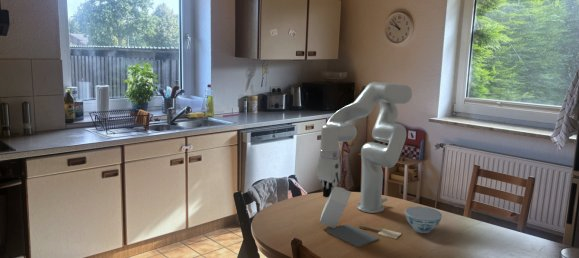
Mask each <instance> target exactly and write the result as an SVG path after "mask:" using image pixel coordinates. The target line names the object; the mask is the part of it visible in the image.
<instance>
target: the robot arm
mask: <svg viewBox="0 0 579 258" xmlns="http://www.w3.org/2000/svg"><path fill="white" fill-rule="evenodd" d="M412 97H413V90H412V88H411V87H410V86H409V85H408V84H401V83H393V82H380V81H379V82H378V81H372V82H370V83H368V84H367V85H366V86H365V88H364V89H363V90H362V91H361V93H360V94H359V95H358V96H357V97H356V99H355V100H354V101H353V102H351V103H349V104H348V105H345V106H344V107H342V108H340V109H339V110H337V111H336V112H334V113H333V114H332V115H331V116H330V118H329V119H328V120H327V122H326V123H325V124H322V127H321V137H320V149H319V151H320V152H319V158H318V162H317V169H316V170H317V171H316V175H317V178H318V181H320V182H321V185H322V188H323V189H322V190H323V191H322V197H324V198H329V195H330V193H331V191H332V189H333V188H334V186H336V187H338V185H339V184H338V182H340V181H341V161H340V160H341V159H340V158H339V157H340V154H339V152H340V151H339V149H340V142H343V143H344V142H345V143H347V142H348V143H349V142H352V141H353V140H355V138H357V137H356V136H357V134H358V133H357V128H356V127H355V125H353V124H351V123H350V124H349V123H347V122H349V121H352V120H358V119H362V118H365V117H368V116H369V115H370V114H371V112H372V111H374V108H375V107H376V106H377V105H378V104H379V112H378V115H377V117H376V120H375V124H374V126H373V129H372V131H371V132H372V133H371V137H372V138H373V139H374V140H375V141H378V142H380V143H377V142H373V141H372V142H371V141H369V142H365V143H364V144H363V145H362V147H361V149H360V157H361V163H362V171H361V173H362V174H361V185H360V186H361V188H360V189H361V190H360V202H359V203H357V205H356V208H357V209H358V210H359V211H360V212H363V213H369V214H377V213H378V214H379V213H382V212H384V210H385V206H384V205H383V203H385V202H388V198H387V197H383V196H382V193H383V179H384V172H383V168H382V167H386V168H393V167H394V166H395V165H397V163H398V161H399V158H400V156H401V153H402V152H403V151H402V150H403V149H404V145H405V142H406V138H407V129H406V127H405V126H404V125H402V124H400V123H396V122H397V120H398V116H399V115H398V114H399V111H398V108H397V106H396V104H399V105H403V104H404V105H405V104H408V103H409V102H410V101H411V99H412ZM382 143H386V144H387V145H386V144H382ZM382 197H383V198H382Z"/></svg>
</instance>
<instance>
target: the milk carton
mask: <svg viewBox="0 0 579 258" xmlns="http://www.w3.org/2000/svg"><path fill="white" fill-rule="evenodd" d="M351 194H352V191H349V190H347V189H345V188H344V187H339V186H333V187H332V188H331V193H330V195H329V197H327V200H326V201H325V205H324V207H323V209H322V212H321V215H320V219H319V223H320V224H322V225H324V226H327V227H329V228H331V229H333V228H336V227H338V226H337V225H338V224H339V223H340V219H341V217H342V215H343V213H344V211H345V209H346V207H347V205H348V201H349V199H350V196H351Z"/></svg>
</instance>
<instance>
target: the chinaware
mask: <svg viewBox="0 0 579 258" xmlns="http://www.w3.org/2000/svg"><path fill="white" fill-rule="evenodd" d="M404 214H405V215H404V216H405V218H406V221H407V222H408V224H409V225H410V226H411V228H413V230H414V231H415V232H417V233H420V234H428V233H430V232H431V231H432V230H434V229H435V228H436V227H438V225H439V224H440V222H441V220H442V218H443V214H442V212H440V211H439V210H437V209H435V208H431V207H427V206H418V205H417V206H410V207H408V208H405V210H404Z"/></svg>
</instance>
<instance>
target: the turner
mask: <svg viewBox="0 0 579 258" xmlns="http://www.w3.org/2000/svg"><path fill="white" fill-rule="evenodd" d="M358 227H359V228H358V229H363V230H367V231H370V232H375V233H377V236H380V237H385V238H390V239H392V240H393V239H394V240H397V239H398V238H399V237H400V236H401V235H402V232H398V231H394V230H390V229H387V228H381V229H380V228H377V227H374V226H370V225H365V224H359V225H358Z"/></svg>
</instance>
